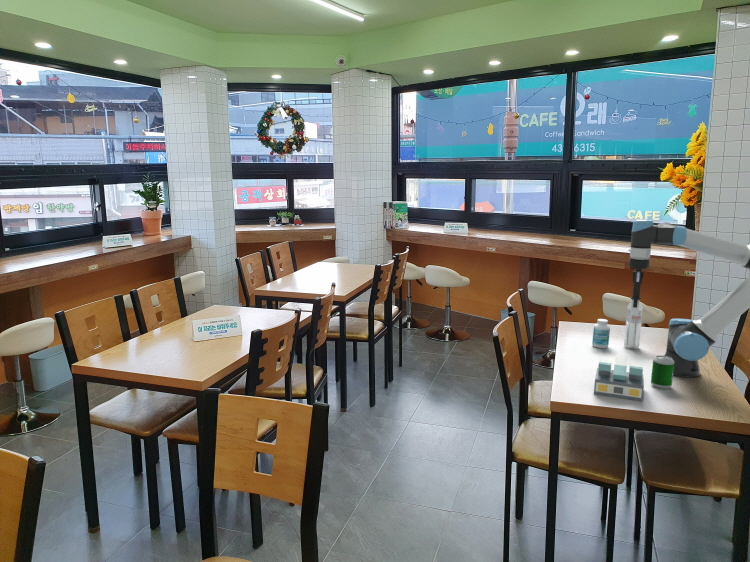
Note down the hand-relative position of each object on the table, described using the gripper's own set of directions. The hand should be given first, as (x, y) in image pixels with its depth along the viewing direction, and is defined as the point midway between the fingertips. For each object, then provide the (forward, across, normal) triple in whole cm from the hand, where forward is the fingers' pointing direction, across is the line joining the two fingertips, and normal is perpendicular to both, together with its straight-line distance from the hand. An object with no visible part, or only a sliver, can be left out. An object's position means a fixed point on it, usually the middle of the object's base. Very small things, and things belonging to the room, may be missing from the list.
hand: (634, 314), depth 235 cm
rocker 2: (+18, +21, -4) cm, 28 cm away
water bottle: (+27, -44, +1) cm, 51 cm away
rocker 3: (+18, +21, +2) cm, 28 cm away
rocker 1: (+18, +21, -9) cm, 29 cm away
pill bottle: (+27, -39, -13) cm, 49 cm away
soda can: (+27, +8, +12) cm, 30 cm away
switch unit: (+26, +21, -4) cm, 34 cm away
